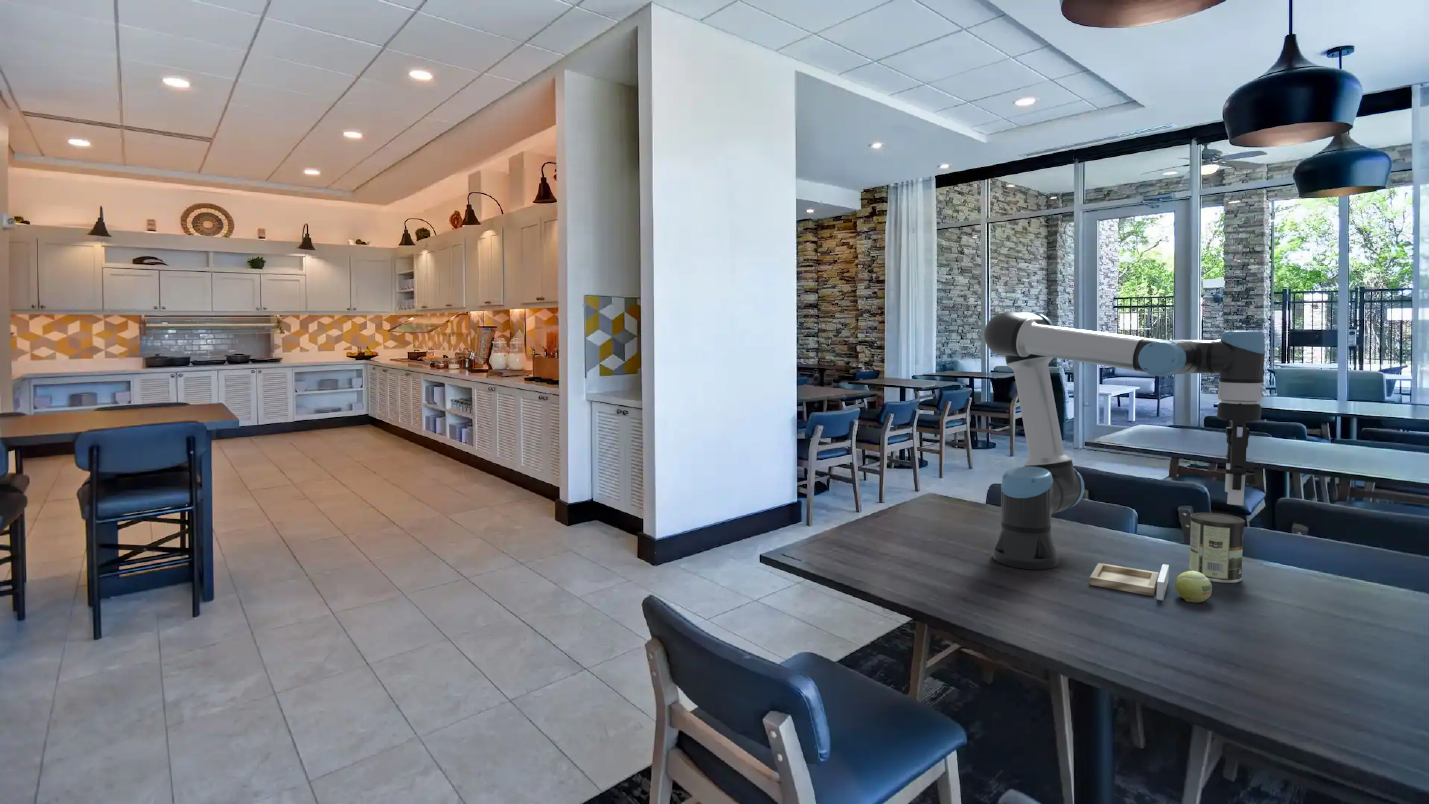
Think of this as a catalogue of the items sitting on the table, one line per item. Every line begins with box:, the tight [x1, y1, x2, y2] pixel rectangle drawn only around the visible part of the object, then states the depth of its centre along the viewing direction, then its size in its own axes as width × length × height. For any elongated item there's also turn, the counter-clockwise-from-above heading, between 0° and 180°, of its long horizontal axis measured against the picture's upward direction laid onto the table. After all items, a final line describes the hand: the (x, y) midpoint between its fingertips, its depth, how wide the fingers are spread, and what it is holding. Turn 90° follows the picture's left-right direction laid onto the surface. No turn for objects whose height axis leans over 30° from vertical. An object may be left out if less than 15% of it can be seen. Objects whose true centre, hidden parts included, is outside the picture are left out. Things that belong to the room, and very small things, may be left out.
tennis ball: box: [1174, 570, 1213, 603], centre depth 147 cm, size 6×7×7 cm
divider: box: [1155, 563, 1170, 601], centre depth 153 cm, size 1×14×4 cm, turn 143°
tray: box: [1089, 562, 1160, 597], centre depth 158 cm, size 12×12×2 cm
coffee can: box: [1188, 512, 1246, 584], centre depth 161 cm, size 10×10×14 cm
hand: (1233, 498), depth 150 cm, fingers open, 13 cm apart
